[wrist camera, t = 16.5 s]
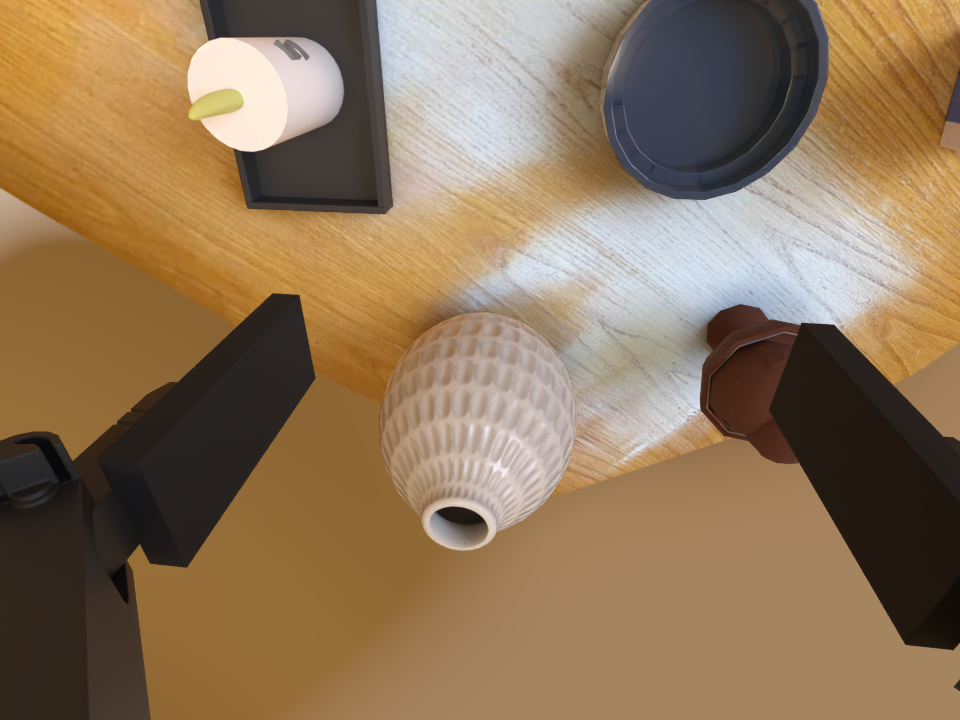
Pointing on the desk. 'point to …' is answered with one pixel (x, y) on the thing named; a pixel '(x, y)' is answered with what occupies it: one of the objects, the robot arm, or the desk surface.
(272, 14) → the tray
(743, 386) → the ice cream bowl
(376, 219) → the desk surface
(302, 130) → the candle
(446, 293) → the desk surface
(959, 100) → the walkman
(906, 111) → the desk surface
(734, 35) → the bowl
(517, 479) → the vase
